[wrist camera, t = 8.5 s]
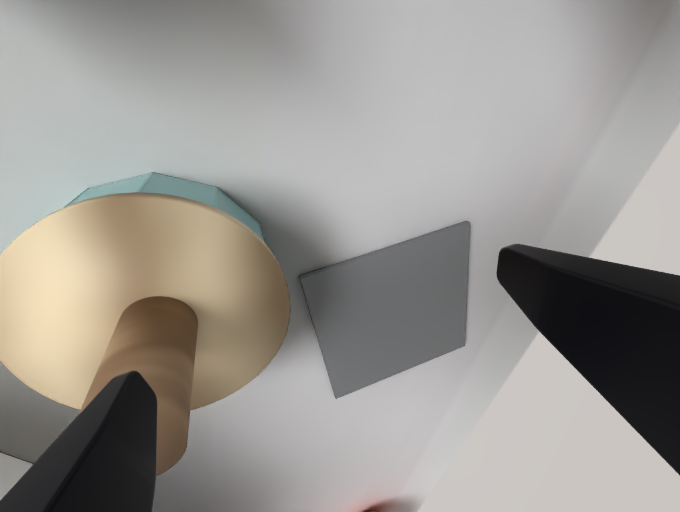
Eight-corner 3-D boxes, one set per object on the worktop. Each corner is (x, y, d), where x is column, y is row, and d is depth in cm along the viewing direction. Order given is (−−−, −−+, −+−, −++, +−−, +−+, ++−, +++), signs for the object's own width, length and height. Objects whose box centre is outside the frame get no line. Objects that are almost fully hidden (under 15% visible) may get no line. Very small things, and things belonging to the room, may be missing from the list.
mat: (466, 220, 24) (470, 223, 24) (462, 342, 31) (464, 345, 30) (299, 276, 21) (300, 279, 21) (334, 395, 28) (335, 399, 28)
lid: (246, 159, 13) (265, 216, 8) (309, 355, 20) (345, 466, 14) (-96, 244, 11) (-425, 413, 5) (98, 434, 17) (38, 606, 12)
